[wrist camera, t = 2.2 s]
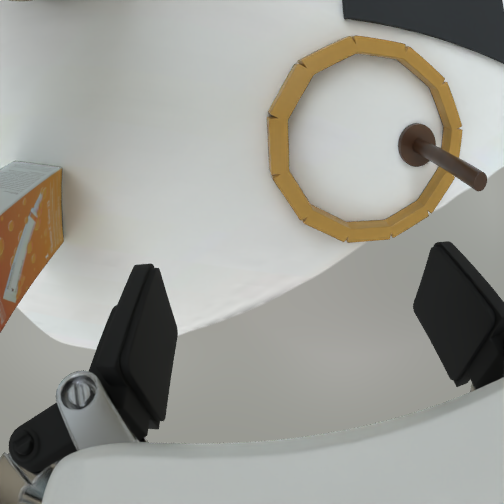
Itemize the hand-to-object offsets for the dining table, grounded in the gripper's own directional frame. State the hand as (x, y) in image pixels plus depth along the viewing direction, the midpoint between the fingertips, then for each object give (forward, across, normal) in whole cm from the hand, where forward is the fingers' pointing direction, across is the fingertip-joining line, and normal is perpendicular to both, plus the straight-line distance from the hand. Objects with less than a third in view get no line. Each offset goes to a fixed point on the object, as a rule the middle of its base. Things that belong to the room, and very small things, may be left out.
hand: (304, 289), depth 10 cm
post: (+16, -14, -1) cm, 21 cm away
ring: (+16, -9, -1) cm, 19 cm away
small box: (+16, +22, +1) cm, 27 cm away
